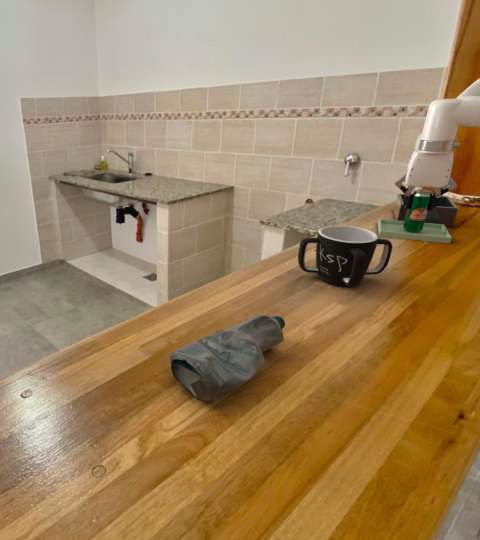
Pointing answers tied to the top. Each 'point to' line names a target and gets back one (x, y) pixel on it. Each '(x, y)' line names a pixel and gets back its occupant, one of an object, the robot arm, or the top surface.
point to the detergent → (226, 356)
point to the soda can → (417, 210)
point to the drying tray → (427, 234)
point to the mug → (344, 254)
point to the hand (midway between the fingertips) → (418, 208)
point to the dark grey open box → (438, 215)
